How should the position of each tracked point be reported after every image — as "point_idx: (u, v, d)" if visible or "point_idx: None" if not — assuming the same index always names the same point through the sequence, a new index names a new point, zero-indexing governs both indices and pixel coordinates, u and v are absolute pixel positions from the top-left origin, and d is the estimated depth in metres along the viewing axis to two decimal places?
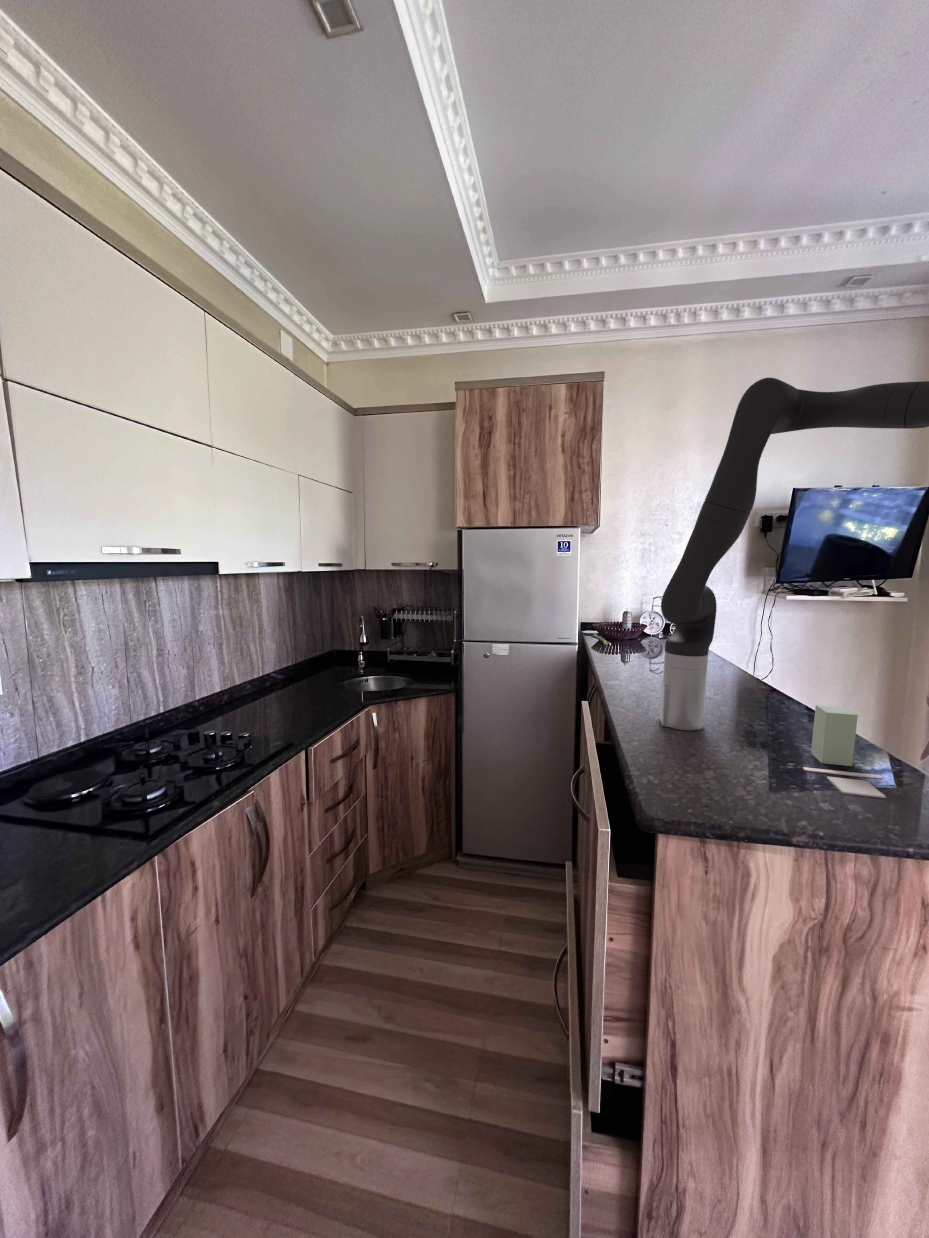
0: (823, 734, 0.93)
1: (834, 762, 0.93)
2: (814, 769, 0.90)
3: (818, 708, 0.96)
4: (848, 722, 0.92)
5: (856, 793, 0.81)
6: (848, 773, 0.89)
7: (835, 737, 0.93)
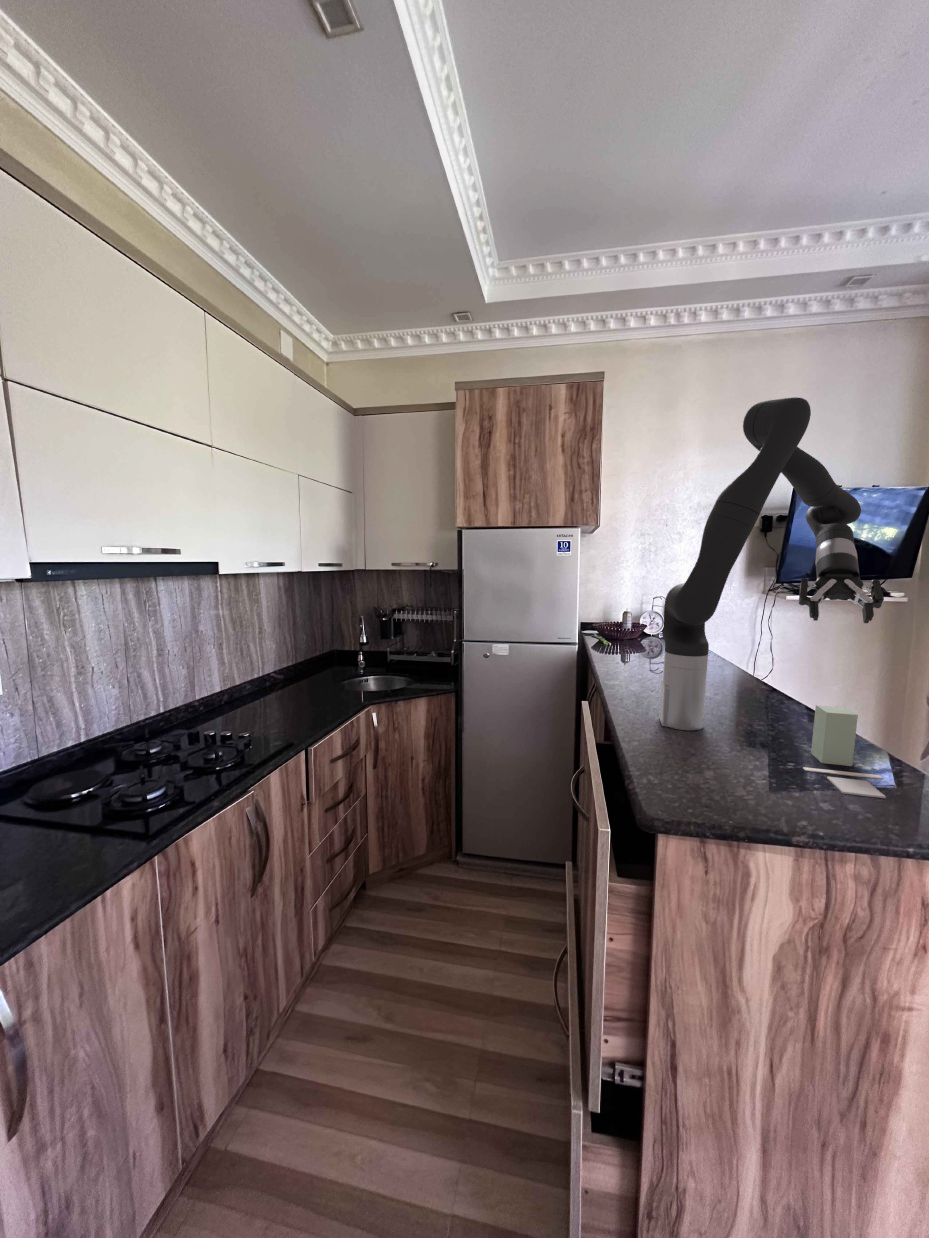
0: (823, 734, 0.93)
1: (834, 762, 0.93)
2: (814, 769, 0.90)
3: (818, 708, 0.96)
4: (848, 722, 0.92)
5: (856, 793, 0.81)
6: (848, 773, 0.89)
7: (835, 737, 0.93)
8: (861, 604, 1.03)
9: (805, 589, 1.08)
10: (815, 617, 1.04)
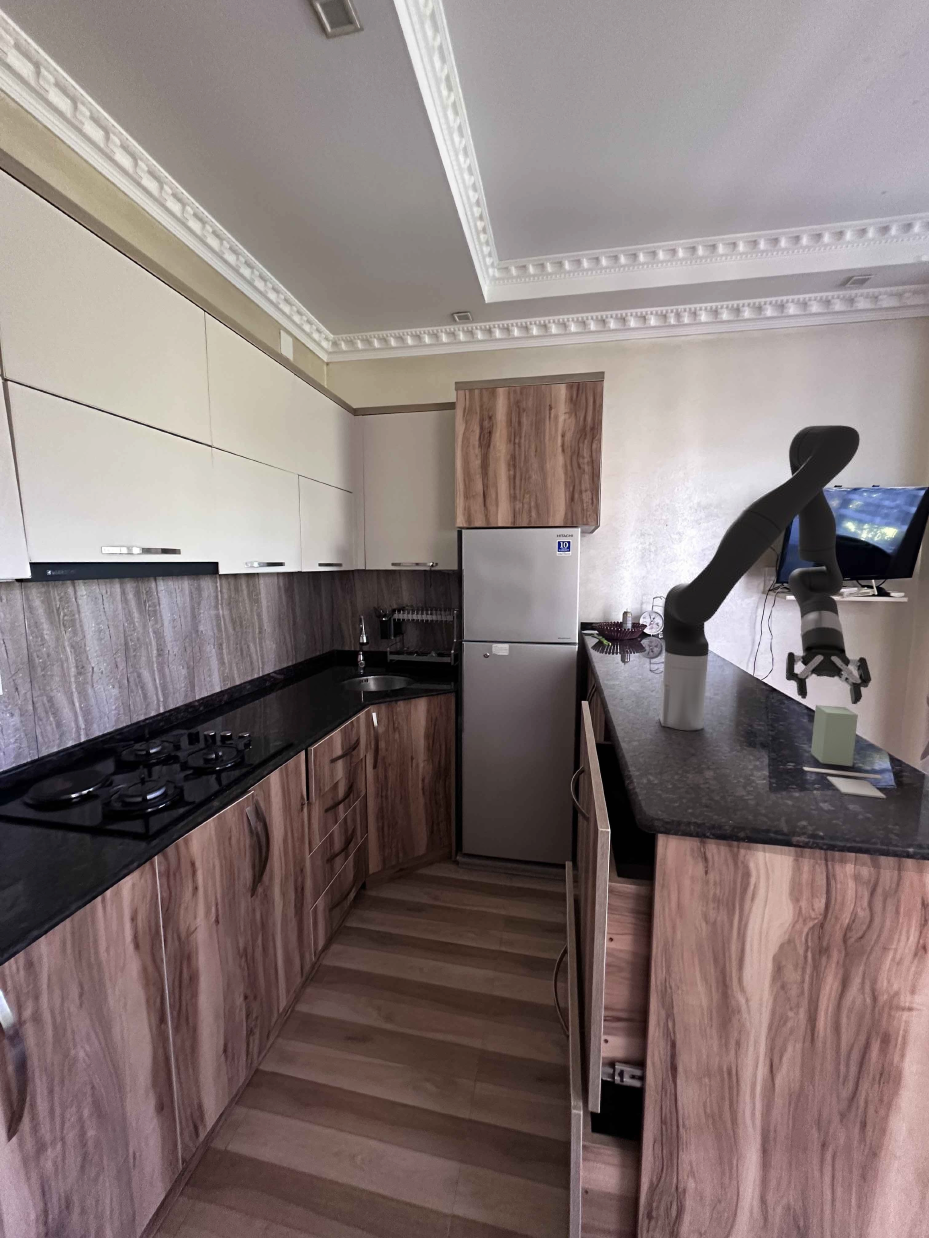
0: (823, 734, 0.93)
1: (834, 762, 0.93)
2: (814, 769, 0.90)
3: (818, 708, 0.96)
4: (848, 722, 0.92)
5: (856, 793, 0.81)
6: (848, 773, 0.89)
7: (835, 737, 0.93)
8: (848, 683, 1.01)
9: (792, 664, 1.05)
10: (803, 696, 1.01)
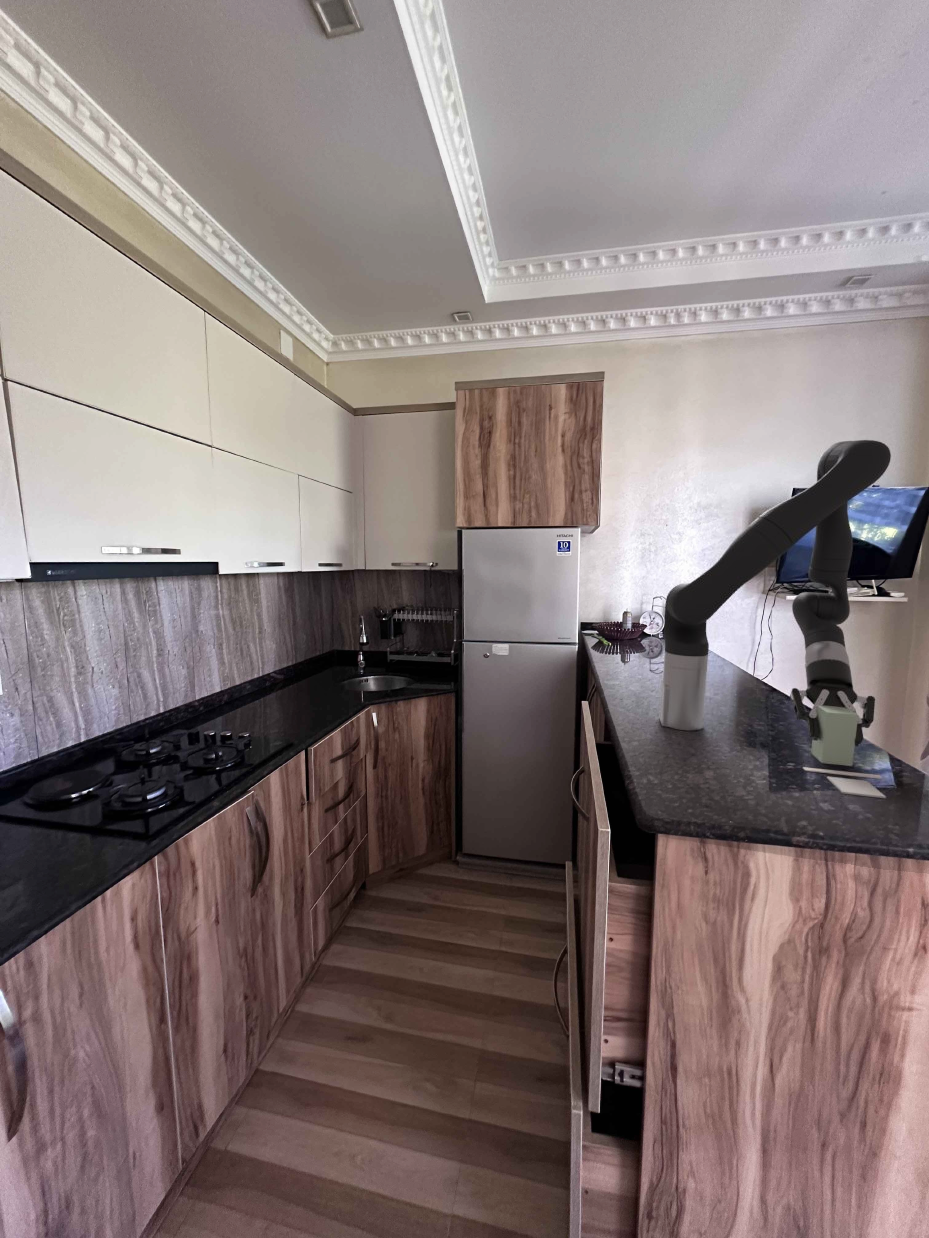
0: (823, 734, 0.93)
1: (834, 762, 0.93)
2: (814, 769, 0.90)
3: (818, 708, 0.96)
4: (848, 722, 0.92)
5: (856, 793, 0.81)
6: (848, 773, 0.89)
7: (836, 737, 0.93)
8: None
9: (800, 702, 0.99)
10: (815, 737, 0.94)
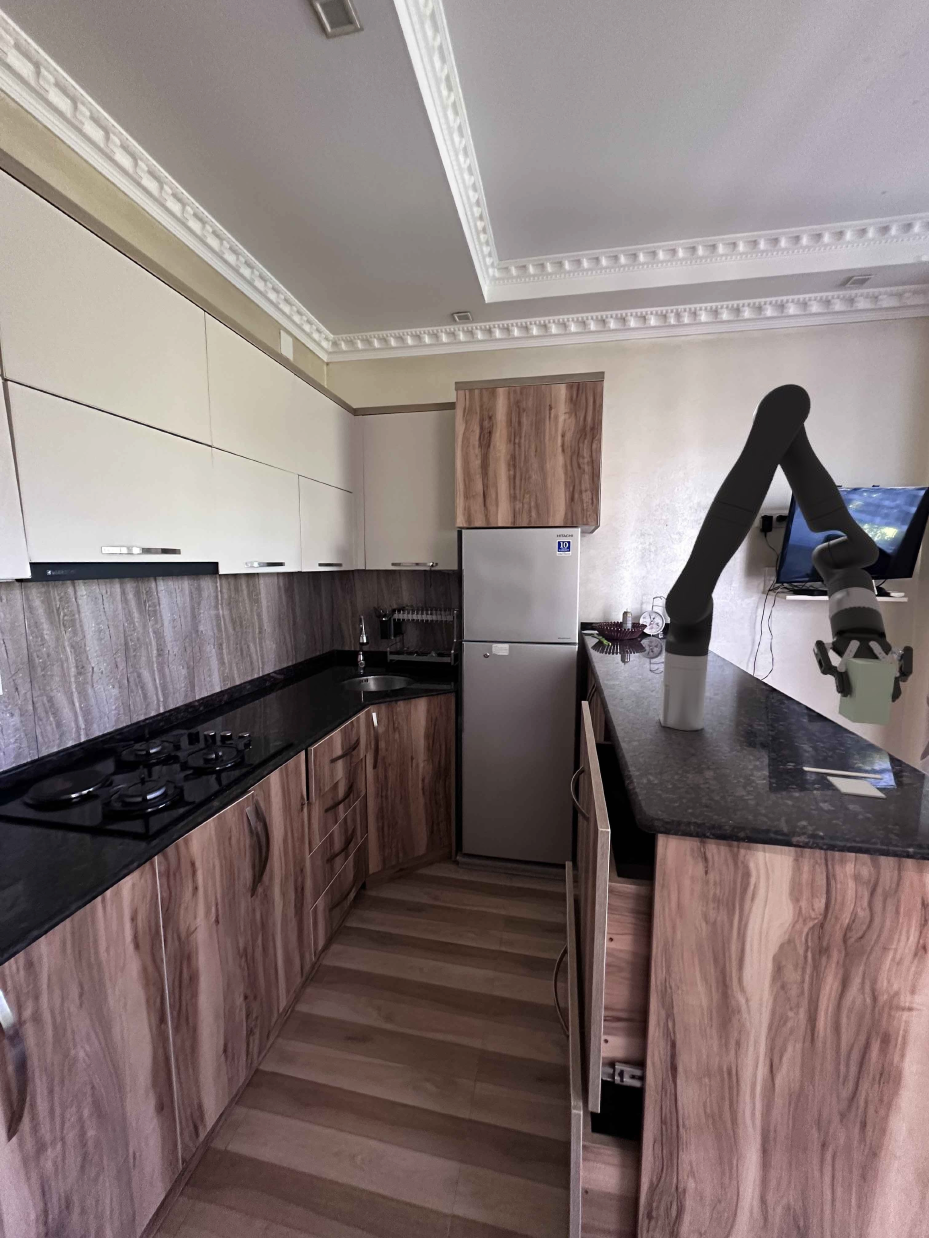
0: (855, 689, 0.81)
1: (867, 721, 0.80)
2: (814, 769, 0.90)
3: (848, 660, 0.83)
4: (884, 675, 0.79)
5: (856, 793, 0.81)
6: (848, 773, 0.89)
7: (869, 692, 0.80)
8: None
9: (826, 655, 0.86)
10: (845, 693, 0.82)
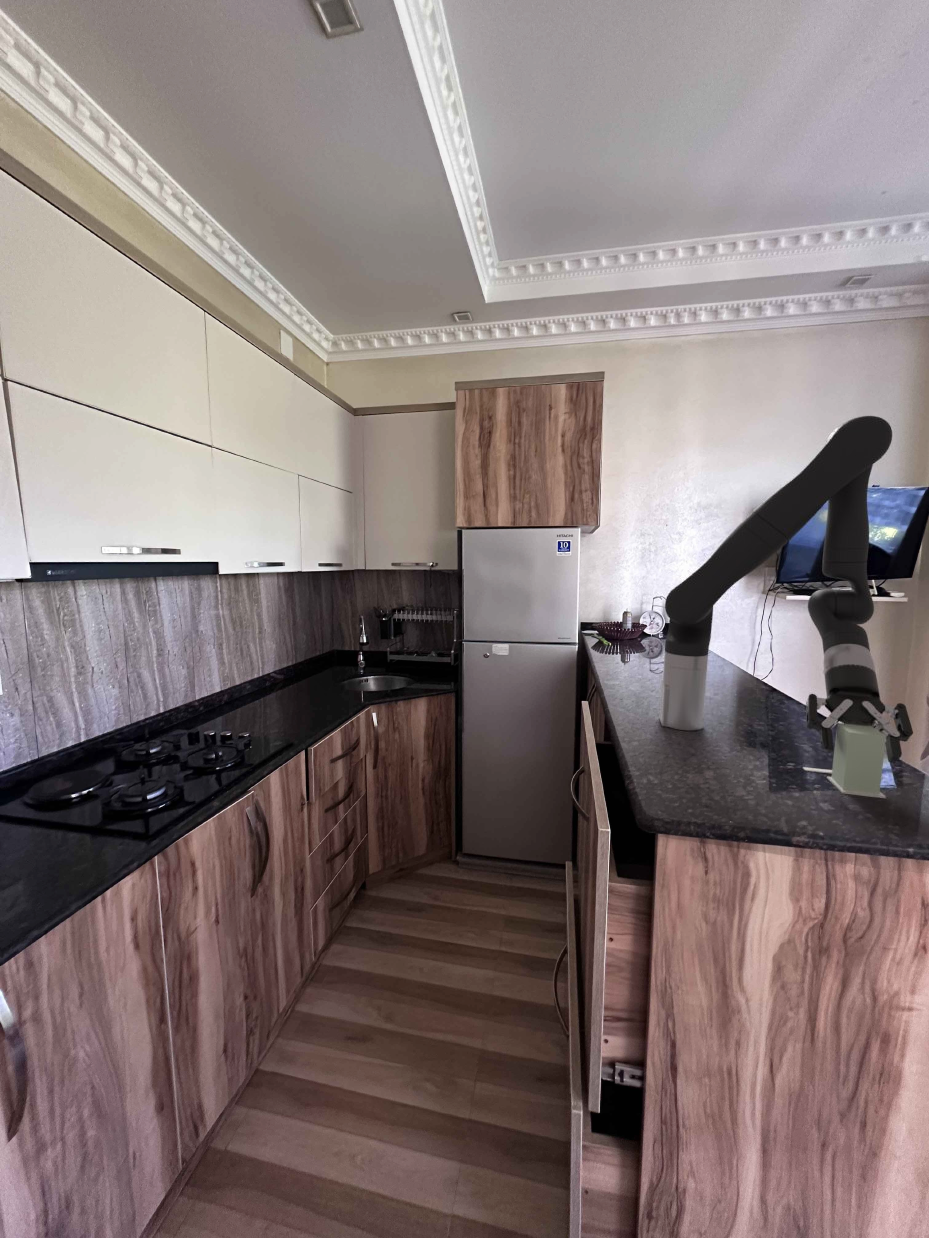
0: (845, 757, 0.82)
1: (858, 789, 0.81)
2: (814, 769, 0.90)
3: (840, 727, 0.84)
4: (874, 745, 0.80)
5: (856, 793, 0.81)
6: None
7: (859, 761, 0.81)
8: None
9: (814, 710, 0.87)
10: (829, 750, 0.83)
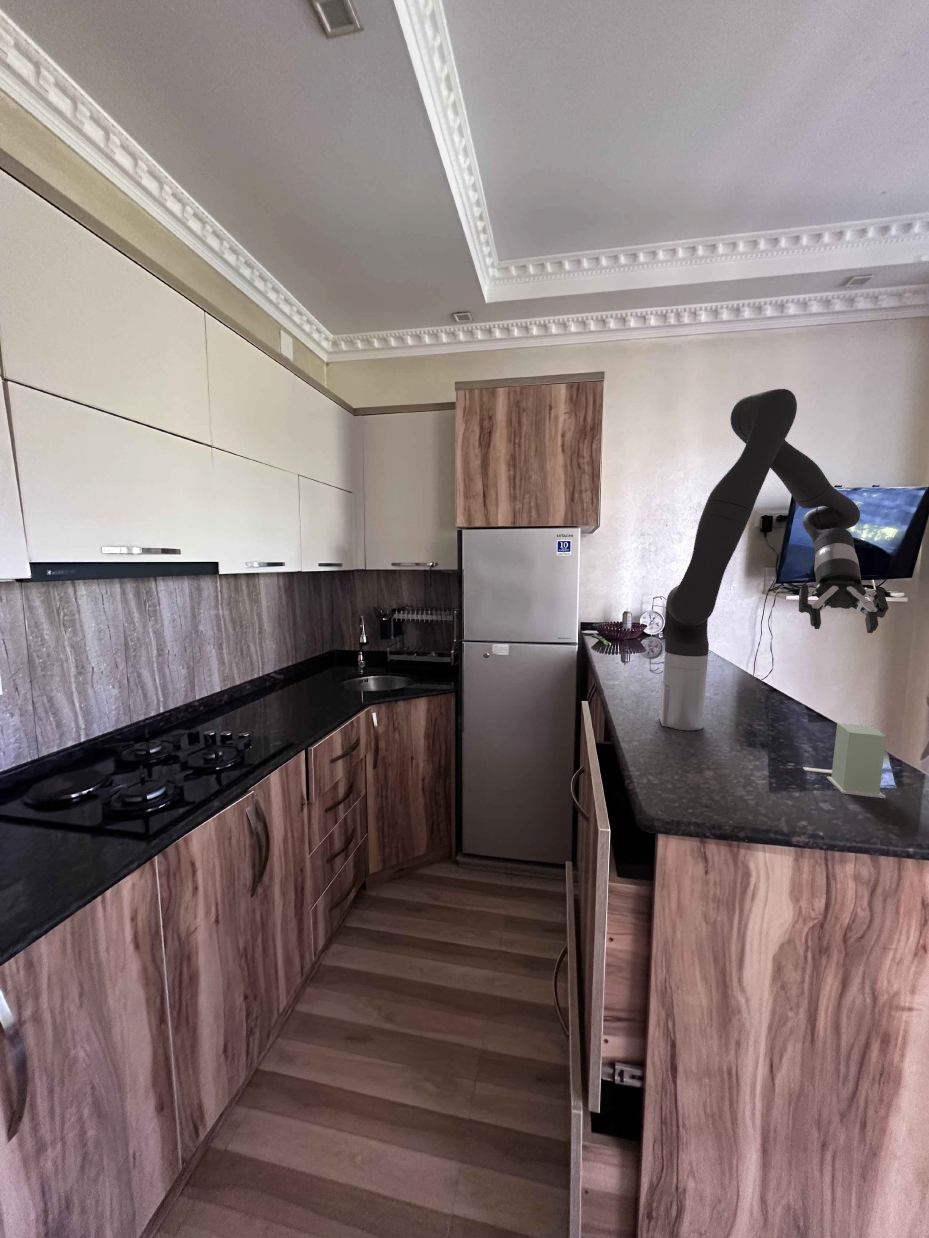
0: (845, 757, 0.82)
1: (858, 789, 0.81)
2: (814, 769, 0.90)
3: (840, 727, 0.84)
4: (874, 745, 0.80)
5: (856, 793, 0.81)
6: None
7: (859, 761, 0.81)
8: (864, 613, 0.98)
9: (806, 596, 1.02)
10: (817, 625, 0.98)
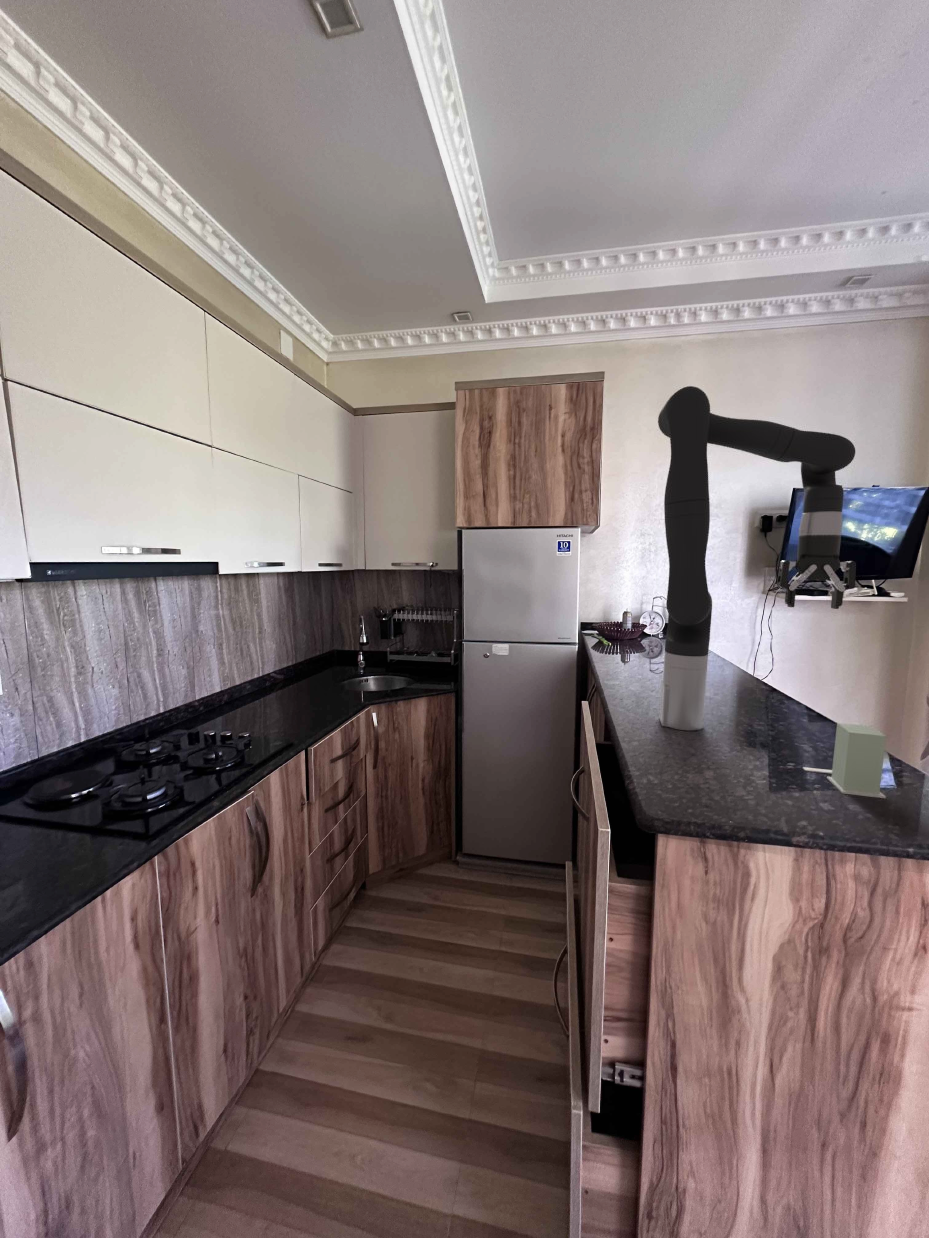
0: (845, 757, 0.82)
1: (858, 789, 0.81)
2: (814, 769, 0.90)
3: (840, 727, 0.84)
4: (874, 745, 0.80)
5: (856, 793, 0.81)
6: None
7: (859, 761, 0.81)
8: (833, 585, 1.08)
9: (786, 575, 1.09)
10: None
